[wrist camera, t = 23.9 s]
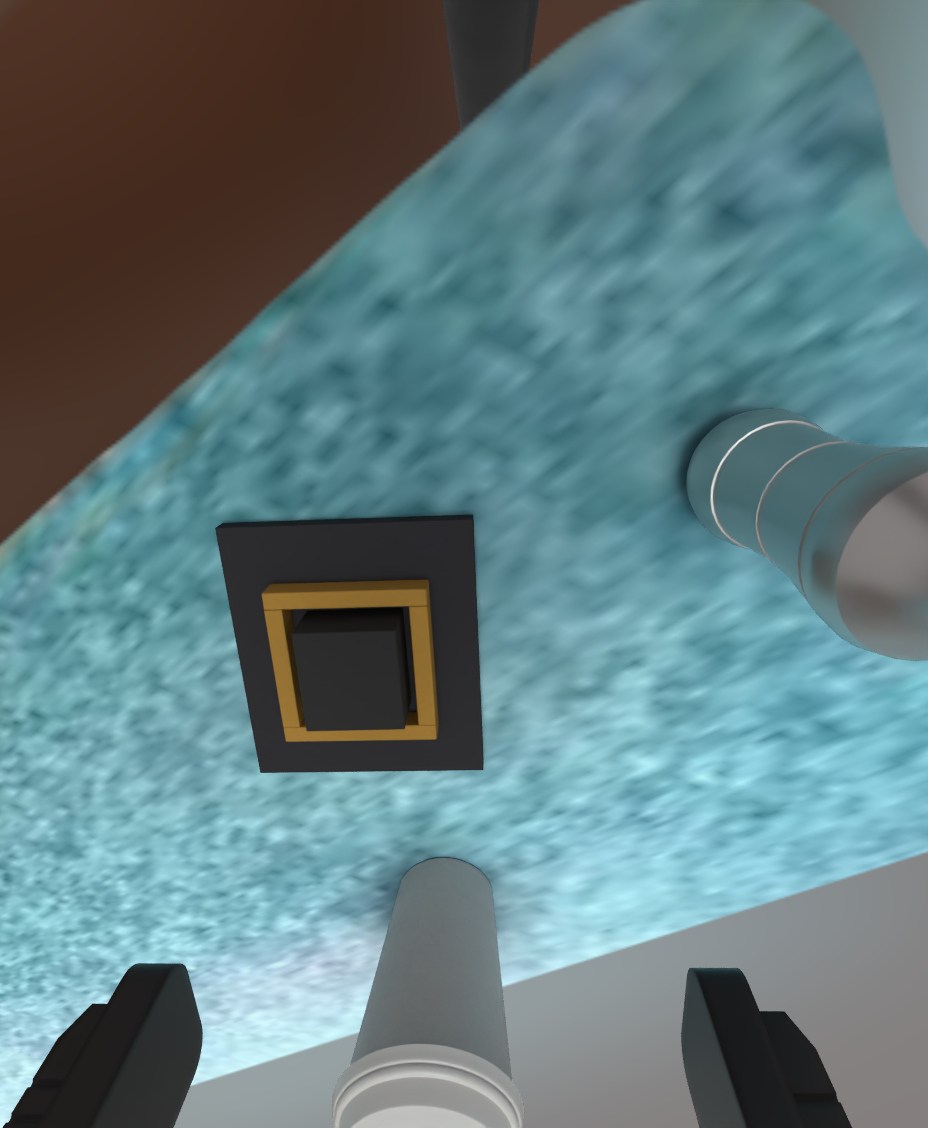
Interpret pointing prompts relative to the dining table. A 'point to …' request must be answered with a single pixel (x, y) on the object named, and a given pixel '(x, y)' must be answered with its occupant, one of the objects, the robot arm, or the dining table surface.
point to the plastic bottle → (825, 521)
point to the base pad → (348, 582)
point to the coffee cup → (434, 1014)
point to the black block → (353, 669)
